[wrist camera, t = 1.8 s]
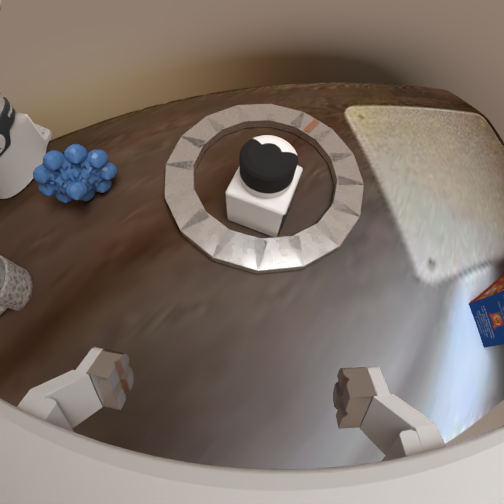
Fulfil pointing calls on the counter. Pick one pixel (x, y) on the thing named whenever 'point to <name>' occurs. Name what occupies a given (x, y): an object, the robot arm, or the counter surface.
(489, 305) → the pasta box
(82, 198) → the grapes
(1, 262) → the mug
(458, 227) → the counter surface
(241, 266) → the turntable ring
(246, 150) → the medicine bottle
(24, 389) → the counter surface
